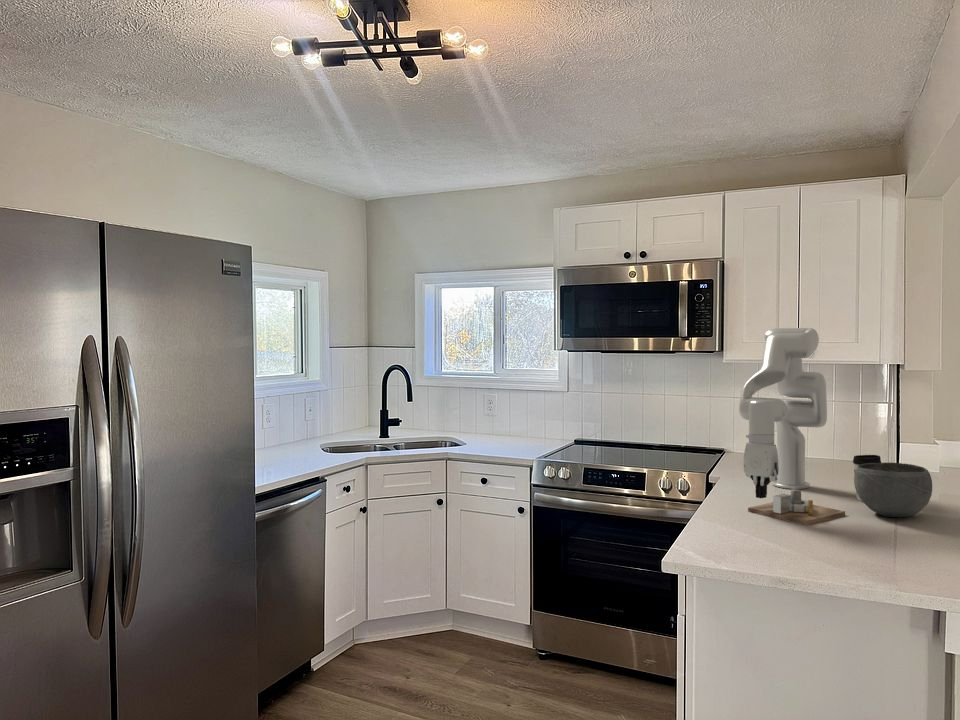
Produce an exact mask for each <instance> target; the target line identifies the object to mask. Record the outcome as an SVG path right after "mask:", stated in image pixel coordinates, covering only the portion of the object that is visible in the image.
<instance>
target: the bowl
mask: <svg viewBox="0 0 960 720" xmlns="http://www.w3.org/2000/svg"><path fill="white" fill-rule="evenodd" d="M853 476H854V478H853V483H854V485H853V486H854V489H855V493H856V492H857V494H858V496H859V497H860V499H861V500H862V501H861V502H862V503H863V504H865V506H867V508H869V509H870V510H871V511H873V512H875V513H876V514H877V515H880V516H884V517H888V518H889V517H890V518H906V517H911V516H915V515H916V514H918V513H919V512H921V511H923V509H924V508H925V507H927V505H928V504H929V502H930V500H931V497H932V495H933V480H932V476H931V473H930V472H929V470H928V469H927V468H926V467H924V466H920V465H917V464H911V463H902V462H881V463H866V464H861V465H859V466H858V467H857V469H856V471H855V474H854V475H853Z"/></svg>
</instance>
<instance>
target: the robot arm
mask: <svg viewBox="0 0 960 720" xmlns="http://www.w3.org/2000/svg"><path fill="white" fill-rule="evenodd" d="M819 340H820V339H819V333H818V332H817V330H816V329H815V328H813V327H784V328H783V327H782V328H781V327H779V328H776V327H775V328H772V329H769V330H767V331H766V332H765V333H764V348H763V354H762V359H761V364H760V370H759V371H758V372H756V373H755V374H753V375H752V376H751V377H750V378H749V379H748V380H747V381H746V382H745V384H744V385H743V387H742V390H741V395H740V399H739V407H738V412H739V415H740V417H741V418H742V419H744V420H746V421H748V433H746V436H745V438H747V439H748V442H746V443H745V447H744V452H743V465H742V467H743V468H742V470H743V472H744V474H745V477H747V478H749V479H751V481H753V482H752V483H753V485H755V498H757V499H765V498H767V495H768V485H770V483H772V485H773V486H774V487H778V488H782V489H790V490H792V489H797V490H804V489H808V488H810V487H811V486H810V483H809V482H807V481H806V438H805V436H804V434H803V432H802V431H801V430H800V429H799V427H800V428H823V427H824V426H826V424H827V421H828V406H827V405H828V403H827V382H826V379H825V376H824V375H823V374H822V373H821V372H818V371H804V369H803V359H807V358H810V357H811V356H812V355H813V354H814V353H815V352H816V350H817V348H818V346H819ZM774 384H775V385H776V384H777V391H778V394H779V395H780V396H782V397H784V398H794V399H784V400H783V399H780V398H776V397H775V398H774V397H773V398H772V397H771V398H770V397H754V395H755V394H756V393H757V392H759V391H760V390H763V389H764V388H767V387H770V386H772V385H774ZM796 398H797V399H799V400H797V399H796ZM795 399H796V400H795ZM800 399H809V400H800ZM775 425H776V444H775Z"/></svg>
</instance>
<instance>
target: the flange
mask: <svg viewBox="0 0 960 720" xmlns="http://www.w3.org/2000/svg"><path fill="white" fill-rule="evenodd" d="M772 497H773V498H772V499H773V500H772V502H773V512H775V513H780V514H782V513H786V512H790V511H791V512H792V511H794V512H808V500H806V499H801V504H792V503H791V494H787V493H781V494H776V495H775V494H774V495H773V496H772Z"/></svg>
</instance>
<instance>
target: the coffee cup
mask: <svg viewBox="0 0 960 720" xmlns="http://www.w3.org/2000/svg"><path fill="white" fill-rule="evenodd" d="M881 459H882V458H881V456H880V455H877V454H861V455H860V454H858V455H853V459H852V464H854V466H853V467H854V469H853V472H854V473H853V474H854V475H855V471H856V469H857V467H858V466H859V465H861V464H866V463H882V461H881ZM855 494H856V500H858V501H859V502H863V501H862V500H861V499H860V497H859V496H858V494H857V492H856V491H855Z"/></svg>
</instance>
